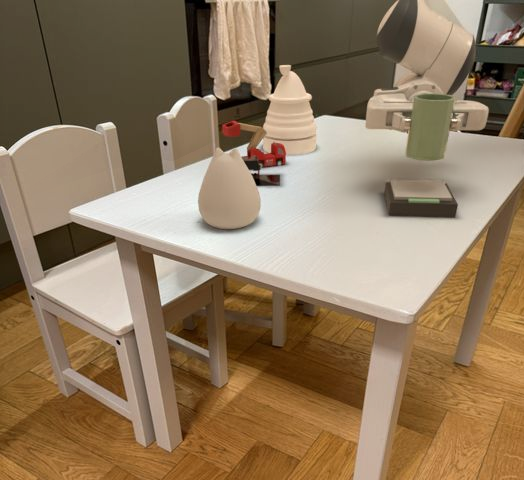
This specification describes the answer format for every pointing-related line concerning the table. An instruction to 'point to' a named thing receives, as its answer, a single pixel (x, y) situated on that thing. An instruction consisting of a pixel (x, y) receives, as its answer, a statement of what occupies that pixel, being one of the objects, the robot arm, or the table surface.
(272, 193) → the table surface
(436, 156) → the cup
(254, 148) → the toy fire truck
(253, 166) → the build plate
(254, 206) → the toy character
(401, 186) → the scale
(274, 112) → the honey pot
